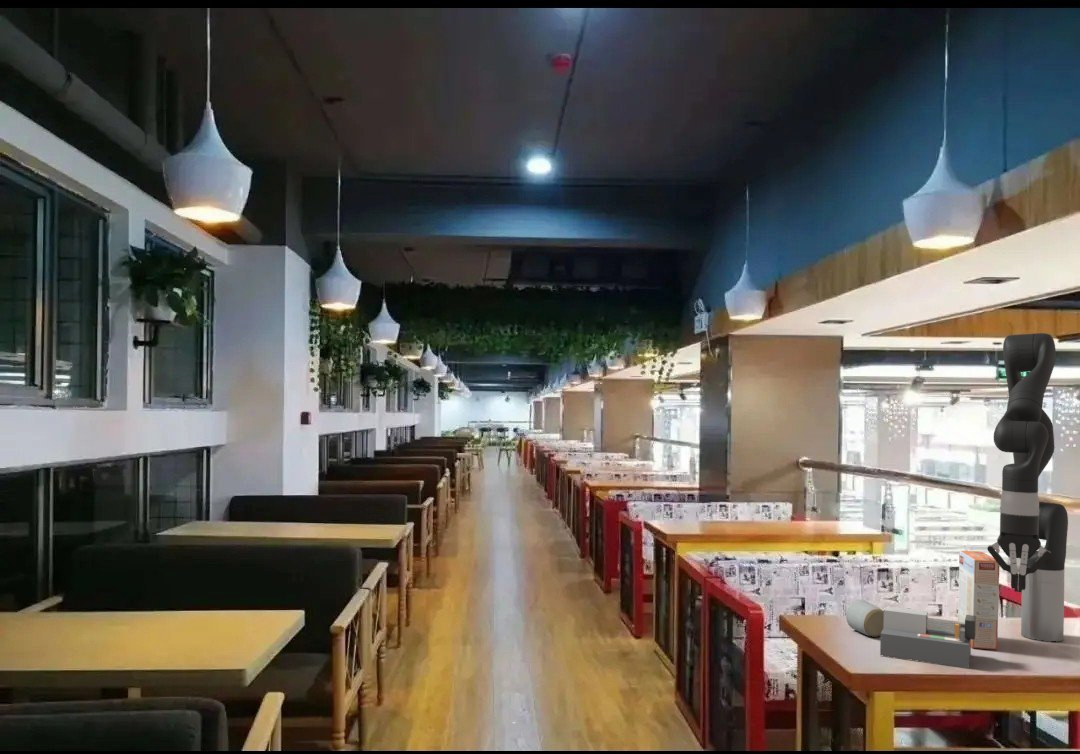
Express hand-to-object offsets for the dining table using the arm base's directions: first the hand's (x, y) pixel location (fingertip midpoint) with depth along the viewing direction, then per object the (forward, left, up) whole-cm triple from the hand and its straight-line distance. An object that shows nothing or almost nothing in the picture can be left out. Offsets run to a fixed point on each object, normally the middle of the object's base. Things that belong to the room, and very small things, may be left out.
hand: (1017, 591), depth 201 cm
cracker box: (-18, -8, -17) cm, 26 cm away
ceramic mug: (-13, -32, -17) cm, 38 cm away
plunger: (+1, -14, -11) cm, 18 cm away
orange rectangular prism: (+4, -12, -11) cm, 17 cm away
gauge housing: (+1, -18, -16) cm, 25 cm away
